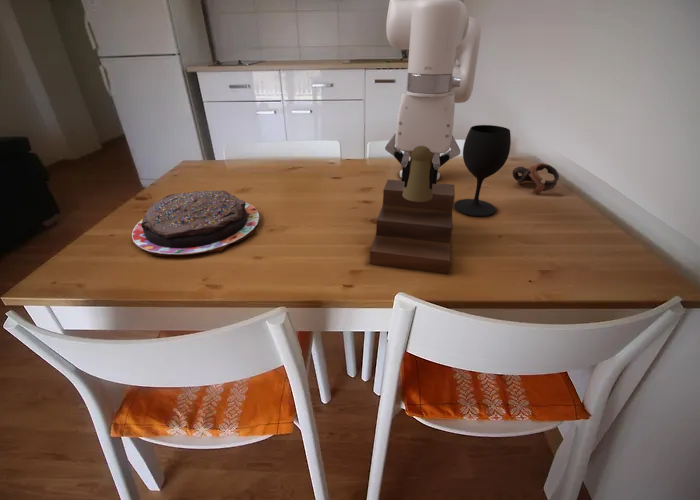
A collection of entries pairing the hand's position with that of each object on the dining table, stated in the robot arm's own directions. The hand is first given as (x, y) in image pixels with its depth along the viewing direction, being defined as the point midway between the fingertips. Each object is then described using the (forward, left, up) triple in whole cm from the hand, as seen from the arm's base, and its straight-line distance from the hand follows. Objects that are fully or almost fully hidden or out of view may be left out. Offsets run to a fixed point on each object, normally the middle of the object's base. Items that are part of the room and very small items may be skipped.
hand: (418, 184), depth 70 cm
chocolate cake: (-32, -38, -13) cm, 51 cm away
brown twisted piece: (-6, +50, -13) cm, 52 cm away
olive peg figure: (0, 0, -2) cm, 2 cm away
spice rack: (0, 0, -13) cm, 13 cm away
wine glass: (-5, +25, -13) cm, 29 cm away
